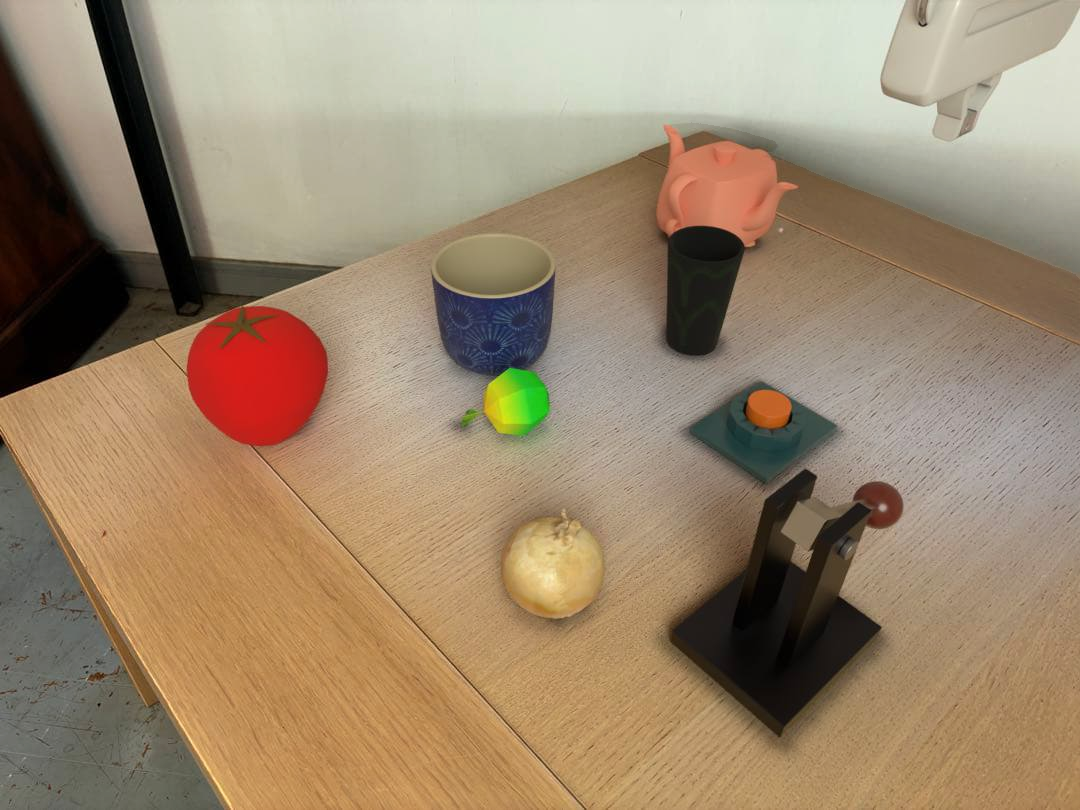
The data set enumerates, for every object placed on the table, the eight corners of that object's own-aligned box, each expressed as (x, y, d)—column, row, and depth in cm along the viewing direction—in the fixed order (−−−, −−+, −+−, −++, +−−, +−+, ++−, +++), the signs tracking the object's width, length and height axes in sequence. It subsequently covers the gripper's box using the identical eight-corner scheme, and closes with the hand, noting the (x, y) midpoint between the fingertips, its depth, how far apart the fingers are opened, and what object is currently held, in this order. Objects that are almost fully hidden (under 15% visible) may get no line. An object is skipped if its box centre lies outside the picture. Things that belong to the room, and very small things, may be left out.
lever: (854, 509, 65) (876, 470, 64) (895, 535, 63) (919, 496, 62) (766, 533, 54) (792, 487, 53) (813, 566, 52) (840, 519, 51)
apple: (548, 352, 77) (458, 379, 73) (571, 417, 76) (481, 446, 73) (525, 371, 83) (441, 395, 80) (546, 430, 83) (463, 457, 79)
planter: (461, 400, 83) (455, 308, 76) (423, 333, 91) (414, 246, 84) (573, 369, 87) (576, 280, 80) (526, 308, 95) (525, 223, 88)
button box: (760, 386, 85) (764, 366, 83) (835, 430, 80) (842, 411, 78) (689, 433, 79) (692, 413, 78) (765, 484, 74) (770, 464, 73)
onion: (595, 640, 62) (601, 581, 57) (491, 624, 63) (488, 565, 58) (607, 557, 68) (613, 498, 63) (512, 544, 69) (511, 484, 64)
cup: (736, 358, 88) (756, 259, 81) (667, 365, 87) (681, 266, 80) (713, 318, 94) (729, 222, 87) (648, 323, 93) (659, 227, 86)
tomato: (204, 478, 74) (164, 366, 66) (208, 397, 83) (173, 290, 75) (343, 453, 77) (321, 343, 69) (333, 377, 85) (312, 272, 77)
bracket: (768, 558, 68) (807, 423, 58) (877, 638, 62) (940, 503, 52) (669, 641, 62) (694, 506, 52) (779, 738, 56) (831, 606, 46)
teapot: (654, 207, 115) (664, 117, 107) (776, 219, 112) (796, 128, 104) (643, 261, 104) (653, 165, 95) (778, 276, 101) (800, 179, 93)
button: (762, 396, 80) (765, 384, 79) (797, 417, 78) (800, 404, 77) (736, 414, 78) (739, 401, 77) (771, 435, 76) (774, 423, 75)
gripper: (993, -46, 45) (916, 189, 54) (1139, -90, 56) (1054, 114, 65) (890, -65, 49) (834, 158, 58) (1045, -103, 59) (977, 91, 68)
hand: (951, 134), depth 61 cm, fingers closed
